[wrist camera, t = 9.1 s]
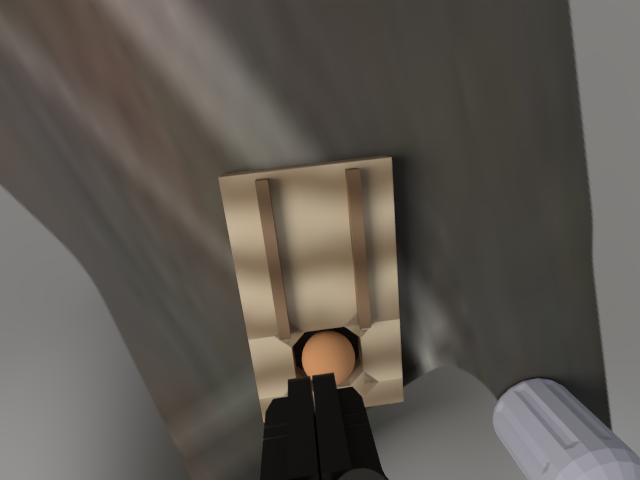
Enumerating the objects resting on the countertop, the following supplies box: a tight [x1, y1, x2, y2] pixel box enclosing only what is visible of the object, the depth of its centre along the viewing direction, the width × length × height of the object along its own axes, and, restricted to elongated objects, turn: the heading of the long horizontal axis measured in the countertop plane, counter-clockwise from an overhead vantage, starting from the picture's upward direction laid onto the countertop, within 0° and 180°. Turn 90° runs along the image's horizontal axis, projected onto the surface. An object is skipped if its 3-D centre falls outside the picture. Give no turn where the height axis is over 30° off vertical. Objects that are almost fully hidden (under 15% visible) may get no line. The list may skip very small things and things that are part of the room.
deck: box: [218, 155, 404, 422], centre depth 34 cm, size 24×14×4 cm, turn 6°
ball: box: [302, 331, 355, 385], centre depth 35 cm, size 5×5×5 cm
